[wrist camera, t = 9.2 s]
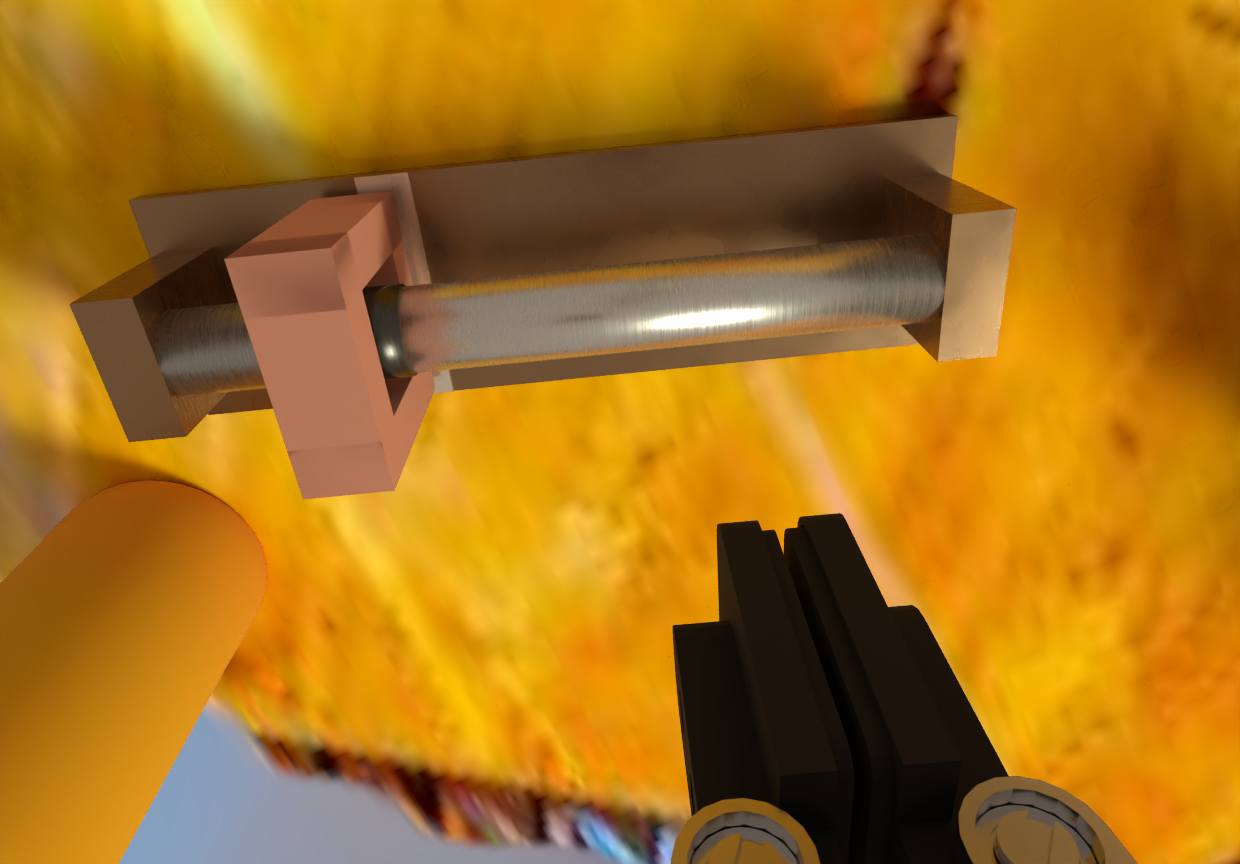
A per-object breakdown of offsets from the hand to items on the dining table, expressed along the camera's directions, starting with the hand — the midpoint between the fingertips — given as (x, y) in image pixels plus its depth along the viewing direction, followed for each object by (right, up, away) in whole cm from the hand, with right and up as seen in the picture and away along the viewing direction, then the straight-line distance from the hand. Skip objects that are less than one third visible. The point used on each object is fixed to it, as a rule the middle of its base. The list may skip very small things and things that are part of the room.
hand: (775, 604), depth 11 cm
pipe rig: (-5, +9, +21) cm, 24 cm away
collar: (-12, +8, +20) cm, 25 cm away
